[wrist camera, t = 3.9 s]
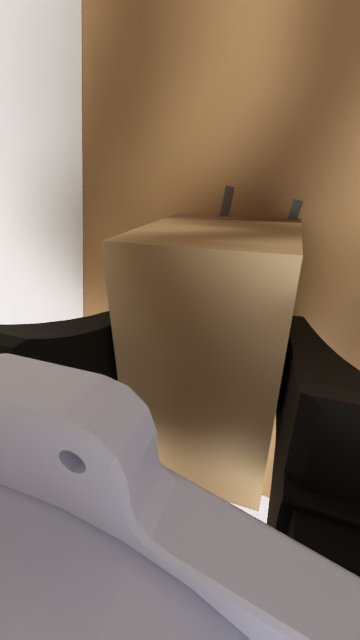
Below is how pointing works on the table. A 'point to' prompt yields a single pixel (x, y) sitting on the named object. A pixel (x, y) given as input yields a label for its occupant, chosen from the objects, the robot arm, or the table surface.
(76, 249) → the table surface
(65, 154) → the table surface
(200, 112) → the oak board
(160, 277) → the block
